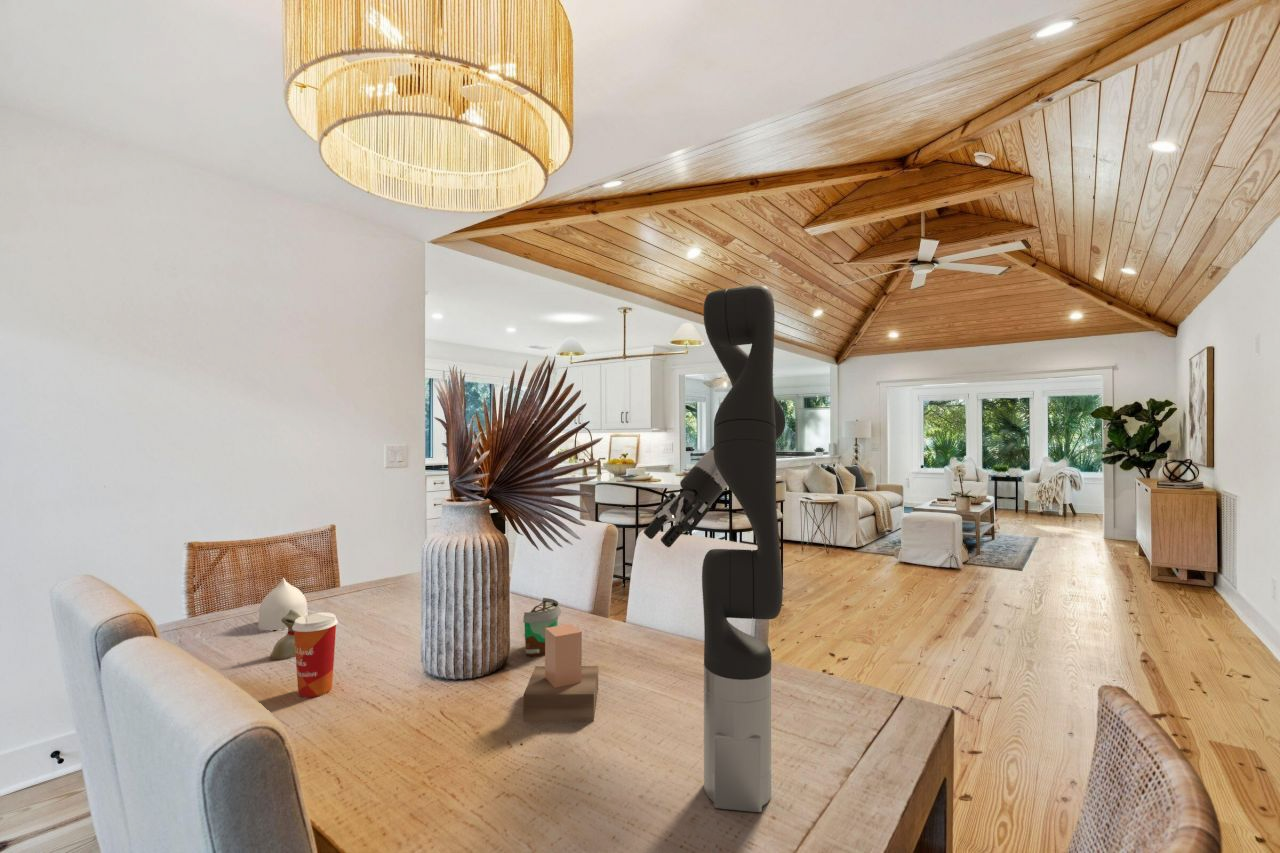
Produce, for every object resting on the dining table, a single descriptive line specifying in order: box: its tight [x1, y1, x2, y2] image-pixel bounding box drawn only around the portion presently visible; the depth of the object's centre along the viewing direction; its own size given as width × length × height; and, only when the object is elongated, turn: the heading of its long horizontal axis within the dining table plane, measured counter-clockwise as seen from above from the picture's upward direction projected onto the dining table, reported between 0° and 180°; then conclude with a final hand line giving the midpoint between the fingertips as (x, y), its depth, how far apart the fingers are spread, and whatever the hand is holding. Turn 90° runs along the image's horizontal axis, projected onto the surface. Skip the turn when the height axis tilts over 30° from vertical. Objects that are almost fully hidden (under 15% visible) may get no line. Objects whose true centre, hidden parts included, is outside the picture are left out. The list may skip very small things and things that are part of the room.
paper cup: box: [292, 612, 339, 699], centre depth 113 cm, size 8×8×14 cm
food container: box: [522, 597, 562, 658], centre depth 134 cm, size 12×6×10 cm, turn 168°
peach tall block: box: [544, 623, 583, 688], centre depth 108 cm, size 5×5×9 cm
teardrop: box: [257, 576, 309, 631], centre depth 152 cm, size 11×11×12 cm
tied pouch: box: [269, 610, 301, 661], centre depth 132 cm, size 6×8×10 cm
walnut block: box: [523, 665, 599, 723], centre depth 108 cm, size 12×12×5 cm
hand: (655, 540), depth 114 cm, fingers open, 8 cm apart
